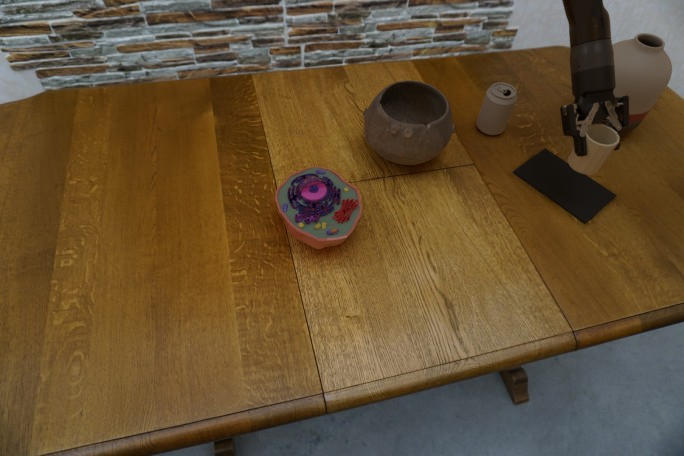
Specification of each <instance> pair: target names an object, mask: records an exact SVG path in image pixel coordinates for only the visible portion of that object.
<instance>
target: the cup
mask: <svg viewBox="0 0 684 456" xmlns="http://www.w3.org/2000/svg"><path fill="white" fill-rule="evenodd" d="M584 137H586V143H587V155H586V156H577V155H576V154H575V152H574V146H573V147H572V149H571V150H570V152H569V154H568V156H567V161H566V162H567V163H568V164H569V165H570V167H571V168H572V169H574V170H575V171H577V172H579V173H581V174H585V175H587V176H590V175H595V174H597V173H599V171H600V170H601V169H602V167H603V166H605V164H606V162H607V160H608V159H609V158H610V156H612V154H613V152H614V151H613V150H614V149H615V147H616V146H617V144H618V143H619V139H620V140H621V136H620V137H619V135H618V133H617V132H616V131H615V130H613V129H612V128H611V127H609V126H606V125H604V124H598V123H594V124H591V125H590V126H589V127H588V129H587V131H586V134H585V136H584Z"/></svg>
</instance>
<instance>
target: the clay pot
mask: <svg viewBox="0 0 684 456" xmlns="http://www.w3.org/2000/svg"><path fill="white" fill-rule="evenodd" d="M362 116H363V118H364V123H363V133H364V138H365V141H366V143H367V144H368V147H370V149H372V151H374V153H375V154H377V155H378V156H380V157H382V158H383V159H384V160H386V161H388V162H391V163H393V164H397V165H402V166H416V165H420V164H424V163H426V162H428V161H431V160H433V159H435V158H436V157H438V156H440V155H441V153H442V152H444V150H445V149H446V147H447V146H448V144H449V143H450V140H451V138H452V136H453V134H454V133H456V125H455V124H454V122H453V121H454V120H453V112H452V108H451V104H450V102H449V100H448V98H447V97H446V95H445V94H444V93H443V92H442V91H440V90H439V89H438V88H436V87H434V86H433V85H432V84H430V83H426V82H424V81H421V80H410V79H409V80H408V79H407V80H400V81H395V82H393V83H390V84H389V85H386V86H385V87H384V88H383V89H381V90H380V91H379V92H378V93H377V94H376V95H375V97H374V98H373V99H372V101H371V102H370V104H369V106H368V108H367V107H365V109H364V111H363V113H362Z"/></svg>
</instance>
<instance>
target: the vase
mask: <svg viewBox="0 0 684 456" xmlns="http://www.w3.org/2000/svg"><path fill="white" fill-rule="evenodd" d="M612 46H613V51H614V65H615V81H616V87H615V88H614V90H613V94H614V96H615V97H619V96H626V95H627V96H628V97H629V125H628V126H625V127H623V128H621V130H620V137H624V136H627V135H628V134H630V133H631V132H633V131H634V130H636V129H637V128H638V127H639V126H640V125H641V123H642V122H643V121H644V119H645V118H646V117H647V116H648V114H649V113H650V112H651V110H652V108H653V107H654V105H656V103H657V101H658V100H659V98H660V97H661V96H662V95H663V92H664V91H665V90H666V88H667V87H668V85H669V83H670V80H671V78H672V73H673V64H672V60H671V58H670V56H669V55H668V53H667V51H665V49H664V48H665V46H666V42H665V41H664V39H663V38H661V37H660V36H658V35H656V34H653V33H649V32H641V33H637V34H636V35H635V36H634V37H633V38H630V39H624V40H620V41H617V42H615V43H612ZM613 109H614V107H613ZM577 115H578V113H577V112H576V113H575V119H576V117H577ZM582 121H584V120H582ZM621 121H622V115H621ZM594 123H598V124H603V123H601V122H600V120H596V121H592V123H591V124H594Z"/></svg>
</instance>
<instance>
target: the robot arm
mask: <svg viewBox="0 0 684 456" xmlns="http://www.w3.org/2000/svg"><path fill="white" fill-rule="evenodd" d="M561 1H562V5H563V10H564V13H565V17H566V19H567V23H568V35H569V50H570V51H569V52H570V53H569V68H570V70H569V71H570V82H571V94H572V96H573V97H574V102H573V103H569V104H564V105H561V106H560V107H559V111H560V119H561V128H562V134H563V136H565V137H571V138H572V140H573V147H574V152H575V154H576V155H577V156H586V155H587V143H586V137H584V136H585V134H586V131H587V129H588V127H589V126H590V125H591V123H592V121H596V120H600V122H601V123H603V124H604V125H606V126H609V127H611V128H612V129H613V130H615V131H616V132H617V133H618V135H619V137H620V139H619V143H618V144H617V146H616V147H615V149H614V150H613V152H615V151H619V150H620V147H621V136H620V130H621V128H623V127H625V126H628V125H629V97H628V96H627V95H626V96H619V97H615V96H614V94H613V90H614V88H615V87H616V81H615V65H614V51H613V46H612V44H613V42H612V41H613V40H612V28H611V18H610V14H609V11H608V10H607V8H606V7H605V4H604V0H561ZM613 107H614V109H613ZM576 112H577V113H578V115H577V117H576V118H575V113H576ZM621 115H622V121H621ZM582 120H584V121H582Z"/></svg>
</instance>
